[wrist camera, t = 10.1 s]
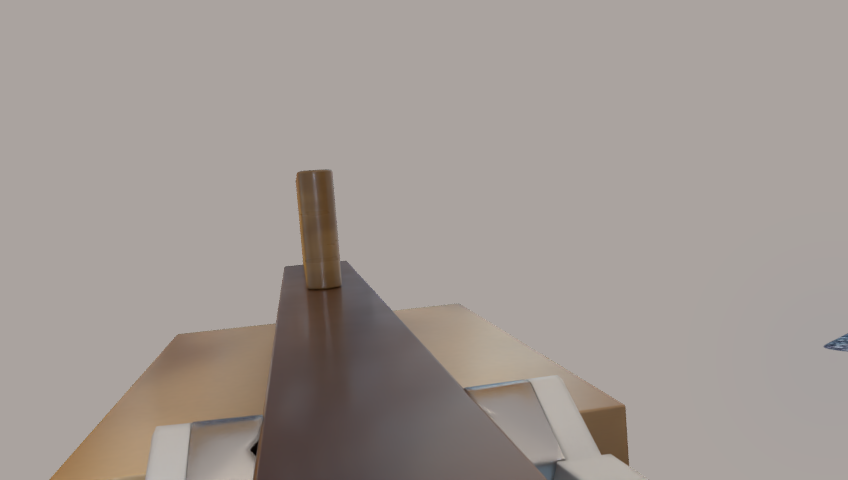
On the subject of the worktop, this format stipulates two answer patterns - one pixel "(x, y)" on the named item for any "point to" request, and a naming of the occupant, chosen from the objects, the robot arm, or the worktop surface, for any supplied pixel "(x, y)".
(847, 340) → the worktop surface
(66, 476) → the birch stand
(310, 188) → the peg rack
